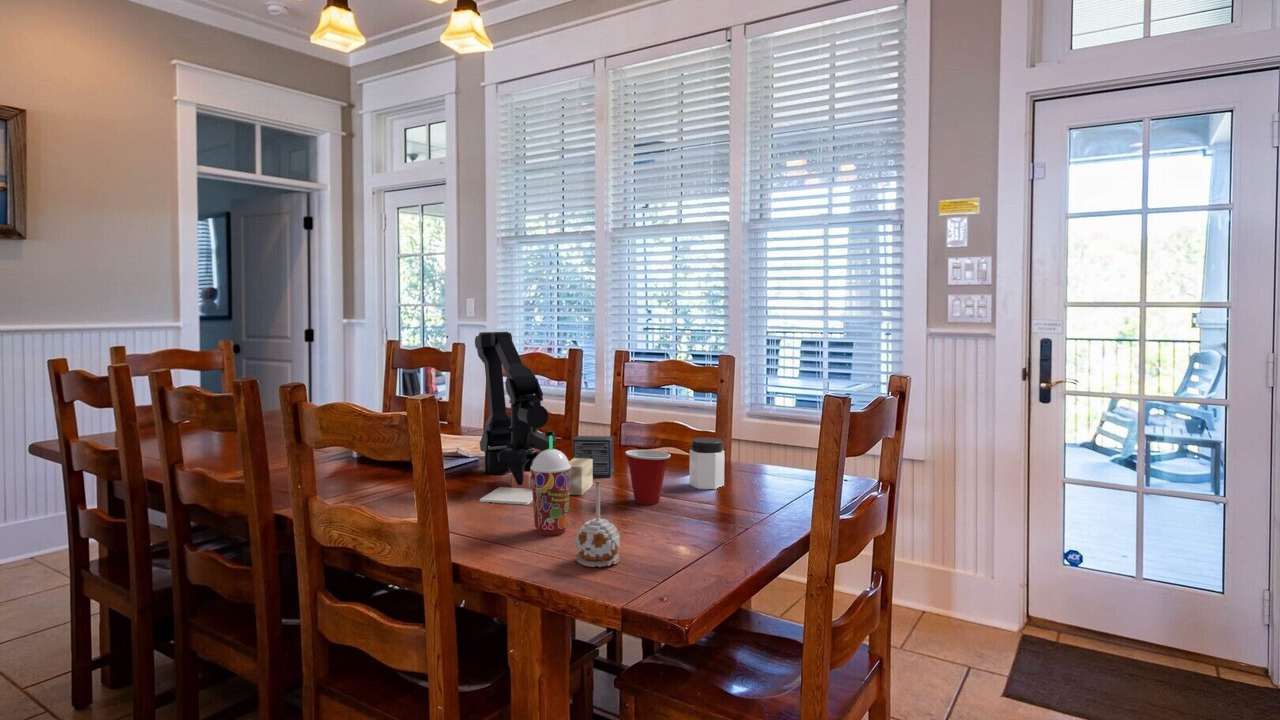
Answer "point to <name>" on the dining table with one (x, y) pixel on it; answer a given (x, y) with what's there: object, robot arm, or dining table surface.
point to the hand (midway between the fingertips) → (522, 482)
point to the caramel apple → (597, 540)
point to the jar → (706, 463)
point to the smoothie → (551, 491)
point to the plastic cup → (647, 474)
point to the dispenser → (581, 475)
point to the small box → (596, 453)
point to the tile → (509, 496)
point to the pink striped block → (526, 481)
